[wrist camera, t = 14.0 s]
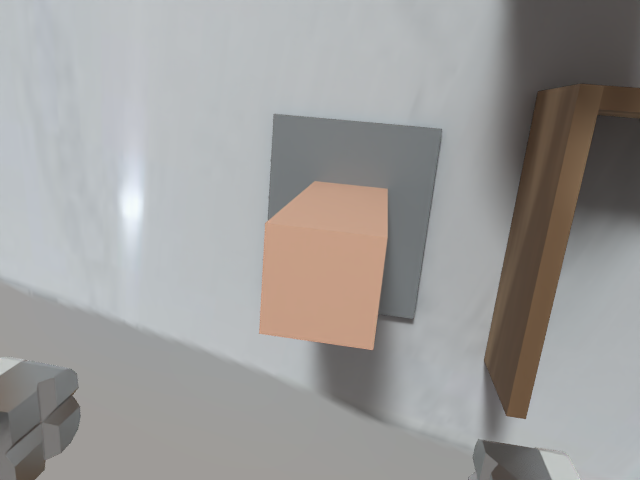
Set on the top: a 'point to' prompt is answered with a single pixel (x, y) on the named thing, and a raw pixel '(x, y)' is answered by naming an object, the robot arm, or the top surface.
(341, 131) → the slate coaster
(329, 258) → the terracotta block
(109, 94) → the top surface
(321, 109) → the top surface
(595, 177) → the top surface
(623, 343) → the top surface
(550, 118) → the walnut bay
